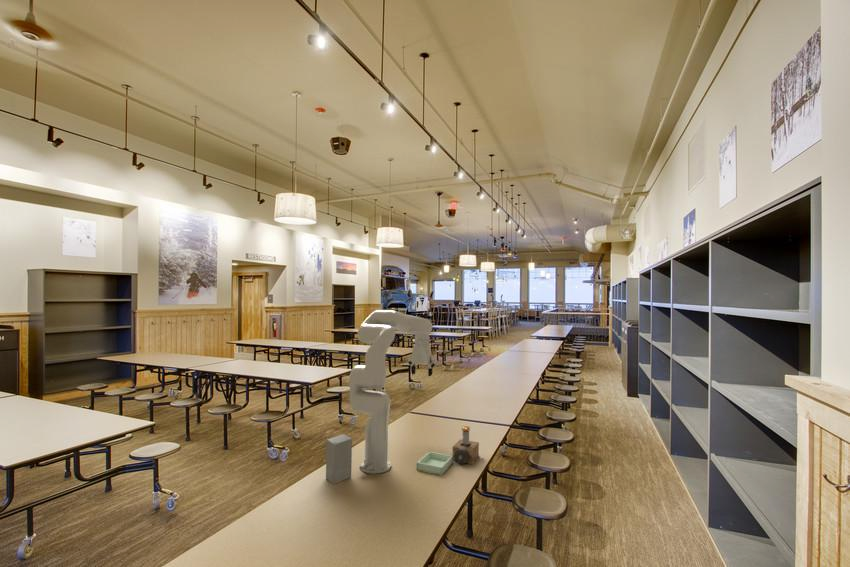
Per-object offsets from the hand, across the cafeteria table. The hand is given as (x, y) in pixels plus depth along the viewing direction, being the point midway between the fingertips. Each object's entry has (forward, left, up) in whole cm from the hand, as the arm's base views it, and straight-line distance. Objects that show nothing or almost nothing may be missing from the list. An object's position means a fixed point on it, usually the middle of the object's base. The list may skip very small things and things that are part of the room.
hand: (421, 374), depth 204 cm
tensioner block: (-20, -31, -31) cm, 48 cm away
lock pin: (-19, -31, -31) cm, 48 cm away
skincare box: (-60, +8, -31) cm, 68 cm away
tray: (-33, -22, -31) cm, 50 cm away
